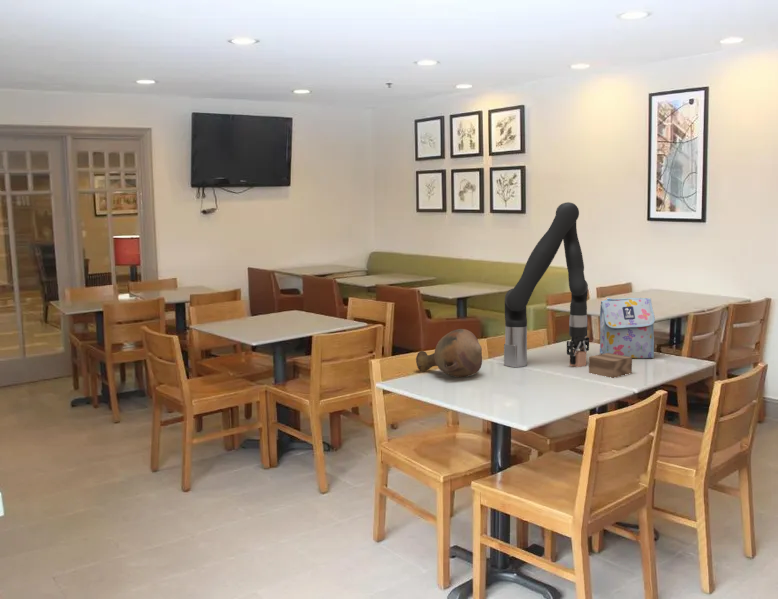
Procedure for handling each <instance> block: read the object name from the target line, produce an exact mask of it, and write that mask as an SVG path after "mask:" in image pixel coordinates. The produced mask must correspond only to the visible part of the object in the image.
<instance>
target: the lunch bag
mask: <svg viewBox="0 0 778 599" xmlns="http://www.w3.org/2000/svg"><path fill="white" fill-rule="evenodd" d="M599 308H600V309H599V327H600V328H599V329H600V330H599V333H600V335H599V353H600V354H605V353H612V354H617V355H622V356H628V357H632V359H650V358H652V359H654V358H655V347H654V346H655V336H654V335H655V334H654V332H655V329H654V324H655V322H656V321H655V320H656V318H655V312H654V310H653V303H652V298H649V297H648V298H646V297H645V298H643V297H627V298H611V297H606V299H605V300H600V307H599Z"/></svg>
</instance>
